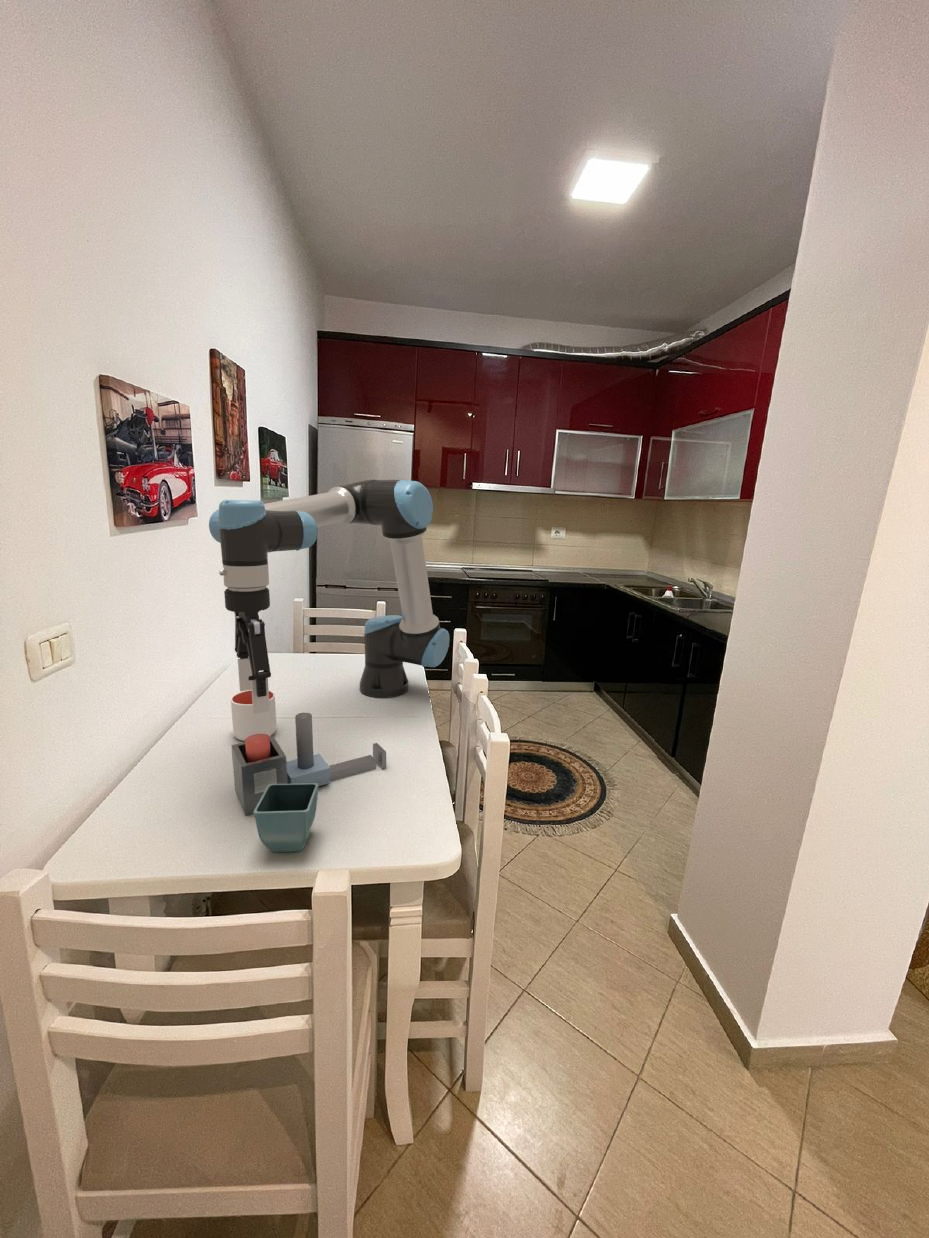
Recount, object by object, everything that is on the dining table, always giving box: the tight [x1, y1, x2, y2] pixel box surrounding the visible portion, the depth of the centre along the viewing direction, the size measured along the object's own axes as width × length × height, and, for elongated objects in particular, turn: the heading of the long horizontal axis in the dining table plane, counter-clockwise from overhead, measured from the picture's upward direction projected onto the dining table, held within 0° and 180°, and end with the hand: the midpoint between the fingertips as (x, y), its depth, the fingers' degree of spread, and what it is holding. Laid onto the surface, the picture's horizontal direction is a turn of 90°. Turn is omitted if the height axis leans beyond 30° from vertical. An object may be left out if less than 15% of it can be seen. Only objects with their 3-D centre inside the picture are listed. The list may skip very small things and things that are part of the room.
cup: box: [230, 690, 278, 742], centre depth 127 cm, size 10×10×10 cm
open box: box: [230, 735, 288, 816], centre depth 101 cm, size 8×10×10 cm
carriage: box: [286, 712, 331, 787], centre depth 105 cm, size 8×7×15 cm
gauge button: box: [244, 734, 271, 763], centre depth 100 cm, size 4×4×5 cm
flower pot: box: [253, 783, 319, 853], centre depth 88 cm, size 9×9×9 cm
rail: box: [287, 742, 387, 784], centre depth 110 cm, size 22×5×4 cm, turn 123°
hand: (254, 700), depth 98 cm, fingers open, 12 cm apart
